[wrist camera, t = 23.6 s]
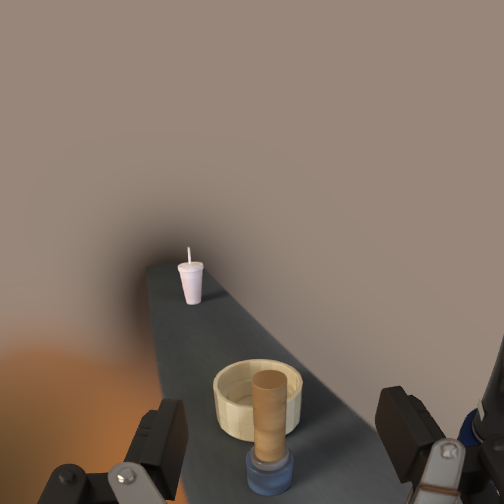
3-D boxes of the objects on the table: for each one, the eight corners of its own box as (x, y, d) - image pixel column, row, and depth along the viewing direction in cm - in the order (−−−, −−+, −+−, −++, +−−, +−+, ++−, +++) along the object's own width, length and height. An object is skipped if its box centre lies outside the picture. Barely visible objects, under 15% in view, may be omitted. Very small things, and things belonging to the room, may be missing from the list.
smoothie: (203, 296, 83) (199, 244, 80) (208, 304, 77) (204, 248, 74) (179, 299, 81) (174, 246, 78) (183, 307, 75) (177, 251, 72)
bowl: (304, 397, 41) (307, 362, 39) (293, 450, 31) (295, 414, 29) (232, 389, 43) (229, 355, 42) (205, 436, 33) (199, 400, 32)
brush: (295, 467, 28) (302, 365, 25) (287, 498, 24) (294, 399, 21) (253, 461, 29) (248, 361, 26) (242, 492, 25) (232, 392, 22)
